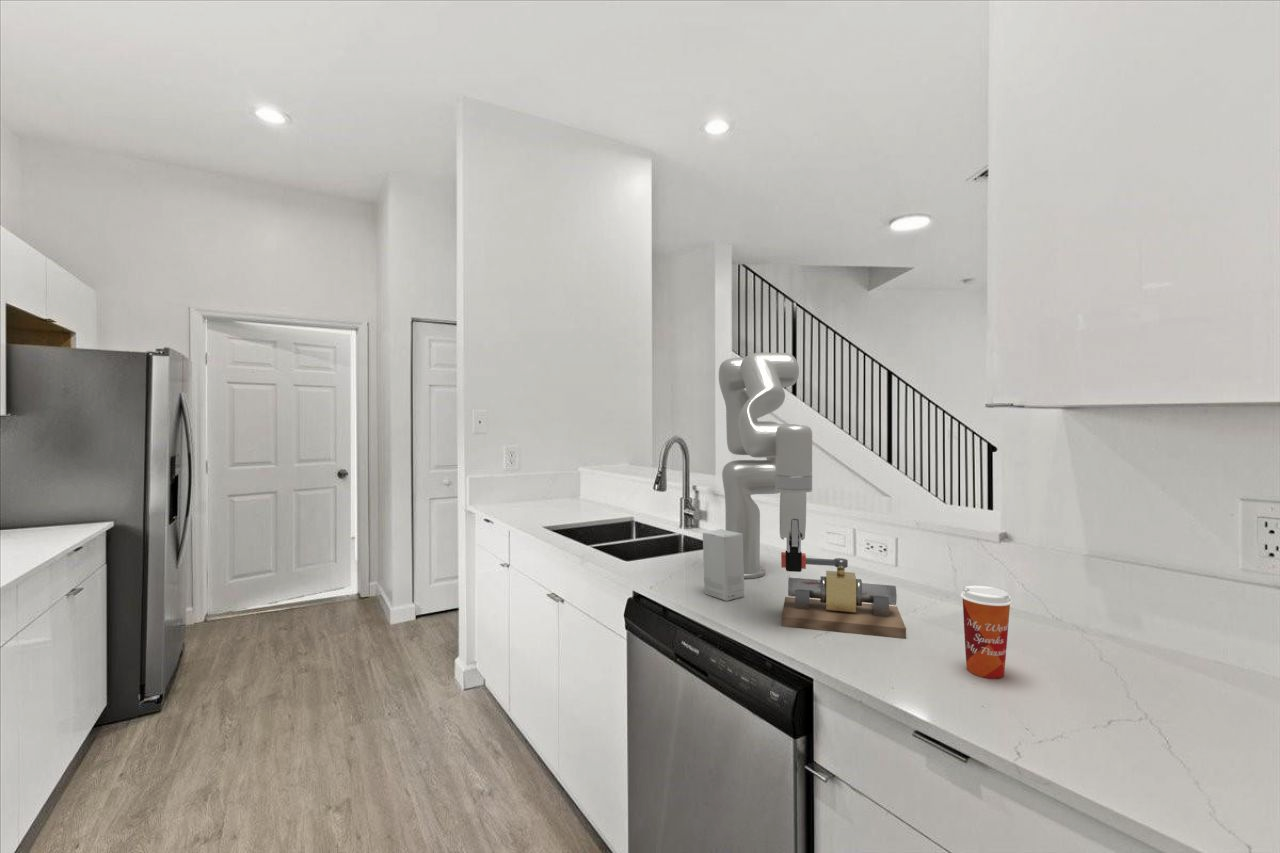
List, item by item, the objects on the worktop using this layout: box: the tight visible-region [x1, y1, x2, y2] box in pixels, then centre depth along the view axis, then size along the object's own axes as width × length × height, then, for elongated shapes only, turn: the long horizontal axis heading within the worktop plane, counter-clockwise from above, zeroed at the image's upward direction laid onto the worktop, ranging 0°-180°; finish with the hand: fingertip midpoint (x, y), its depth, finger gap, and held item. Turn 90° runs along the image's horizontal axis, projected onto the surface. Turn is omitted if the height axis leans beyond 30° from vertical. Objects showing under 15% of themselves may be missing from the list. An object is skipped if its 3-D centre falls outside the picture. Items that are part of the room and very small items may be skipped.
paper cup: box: [960, 585, 1014, 680], centre depth 102 cm, size 8×8×14 cm
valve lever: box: [780, 551, 849, 570], centre depth 130 cm, size 14×3×3 cm, turn 76°
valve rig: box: [781, 567, 907, 639], centre depth 127 cm, size 24×14×11 cm, turn 73°
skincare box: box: [702, 528, 745, 602], centre depth 145 cm, size 8×7×16 cm
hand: (793, 570), depth 124 cm, fingers closed
